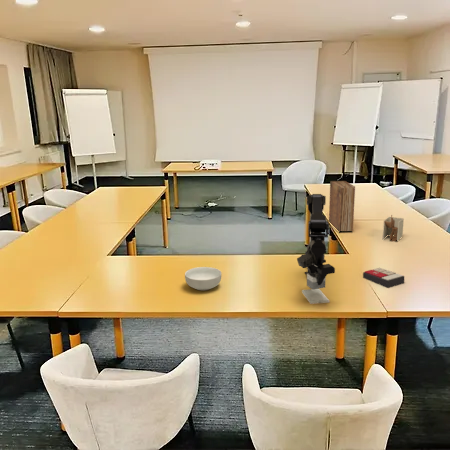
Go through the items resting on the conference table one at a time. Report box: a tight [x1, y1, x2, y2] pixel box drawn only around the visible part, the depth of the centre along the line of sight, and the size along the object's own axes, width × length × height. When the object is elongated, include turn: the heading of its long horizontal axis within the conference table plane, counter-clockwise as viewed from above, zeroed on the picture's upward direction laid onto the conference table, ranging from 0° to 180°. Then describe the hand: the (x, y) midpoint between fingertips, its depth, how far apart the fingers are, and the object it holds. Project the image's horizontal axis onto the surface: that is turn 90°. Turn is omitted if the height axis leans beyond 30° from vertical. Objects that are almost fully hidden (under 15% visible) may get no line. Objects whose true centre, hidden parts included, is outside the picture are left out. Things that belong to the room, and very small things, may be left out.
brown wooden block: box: [328, 179, 356, 233], centre depth 294 cm, size 25×9×30 cm, turn 2°
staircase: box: [382, 214, 405, 242], centre depth 269 cm, size 9×11×17 cm
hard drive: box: [301, 288, 330, 305], centre depth 191 cm, size 2×8×12 cm
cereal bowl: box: [184, 266, 222, 291], centre depth 204 cm, size 17×17×7 cm
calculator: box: [362, 267, 405, 289], centre depth 207 cm, size 11×4×15 cm
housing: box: [306, 272, 327, 290], centre depth 189 cm, size 6×5×6 cm
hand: (316, 282), depth 189 cm, fingers closed on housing, 5 cm apart
